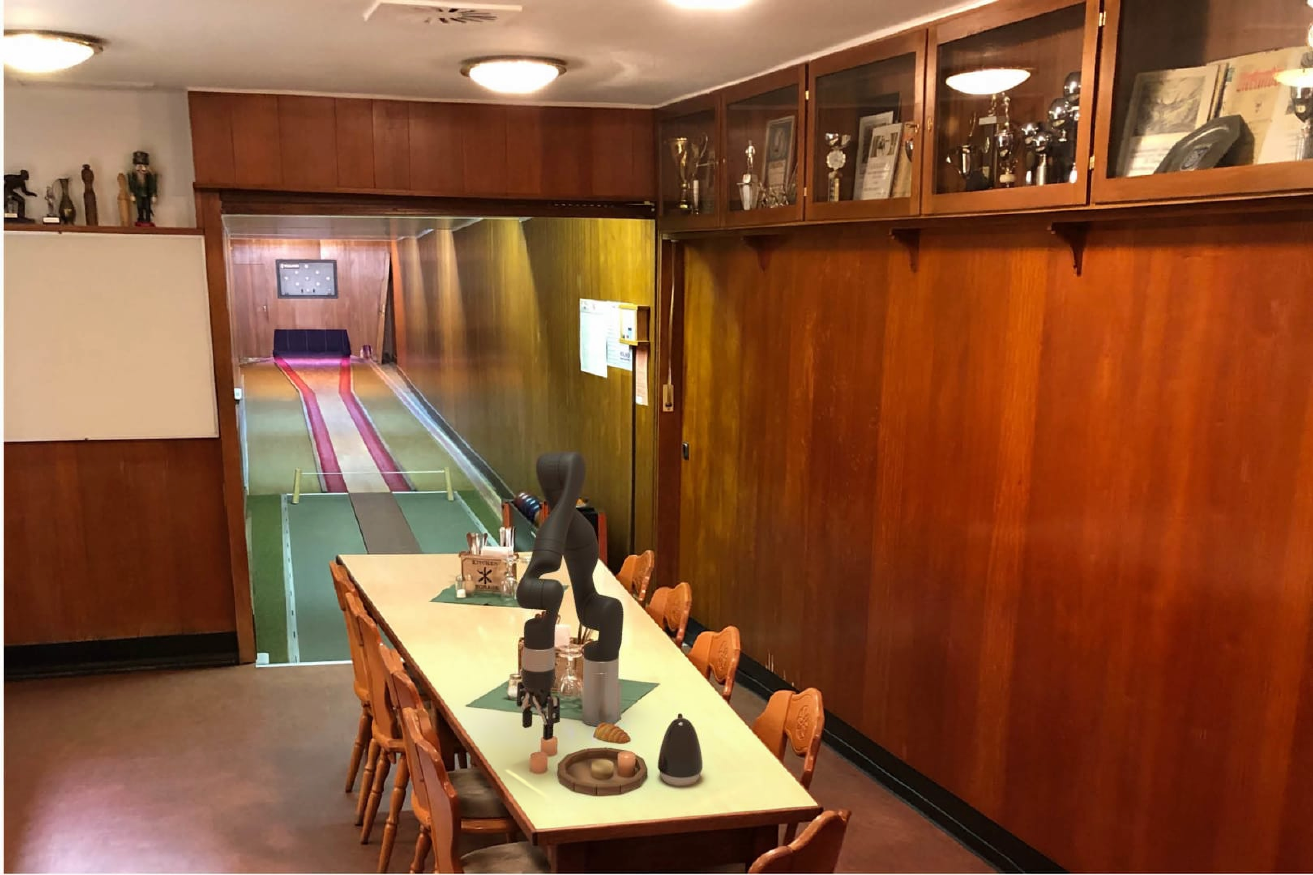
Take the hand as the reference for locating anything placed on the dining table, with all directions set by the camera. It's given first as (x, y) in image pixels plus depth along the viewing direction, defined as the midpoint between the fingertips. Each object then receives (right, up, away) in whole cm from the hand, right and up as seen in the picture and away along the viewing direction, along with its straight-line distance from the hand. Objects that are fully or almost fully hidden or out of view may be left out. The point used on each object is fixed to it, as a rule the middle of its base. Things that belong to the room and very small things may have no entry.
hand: (537, 732), depth 237 cm
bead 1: (0, -10, +1) cm, 10 cm away
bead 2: (+2, -9, +10) cm, 14 cm away
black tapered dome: (+33, -11, -1) cm, 34 cm away
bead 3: (+20, -9, 0) cm, 22 cm away
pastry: (+16, -8, +21) cm, 27 cm away
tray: (+15, -10, 0) cm, 18 cm away
